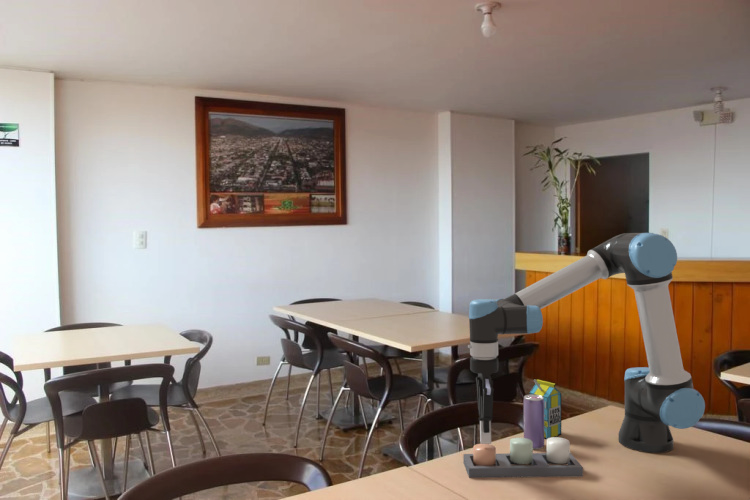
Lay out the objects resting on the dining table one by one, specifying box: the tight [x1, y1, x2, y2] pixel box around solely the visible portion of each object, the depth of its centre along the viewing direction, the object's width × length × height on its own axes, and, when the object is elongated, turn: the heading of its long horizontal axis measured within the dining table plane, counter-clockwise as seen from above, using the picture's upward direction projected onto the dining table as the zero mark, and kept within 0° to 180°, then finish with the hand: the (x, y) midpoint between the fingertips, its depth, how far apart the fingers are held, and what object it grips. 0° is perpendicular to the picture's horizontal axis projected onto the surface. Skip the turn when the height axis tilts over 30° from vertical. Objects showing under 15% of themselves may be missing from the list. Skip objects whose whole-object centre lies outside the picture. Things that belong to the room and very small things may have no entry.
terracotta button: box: [472, 443, 497, 466], centre depth 159 cm, size 6×6×5 cm
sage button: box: [509, 437, 534, 465], centre depth 159 cm, size 6×6×5 cm
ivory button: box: [546, 436, 571, 465], centre depth 159 cm, size 6×6×5 cm
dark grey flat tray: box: [462, 452, 584, 479], centre depth 159 cm, size 30×10×2 cm, turn 90°
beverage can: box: [523, 394, 545, 450], centre depth 176 cm, size 6×6×15 cm
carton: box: [528, 379, 562, 440], centre depth 186 cm, size 7×8×18 cm
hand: (485, 442), depth 159 cm, fingers closed
